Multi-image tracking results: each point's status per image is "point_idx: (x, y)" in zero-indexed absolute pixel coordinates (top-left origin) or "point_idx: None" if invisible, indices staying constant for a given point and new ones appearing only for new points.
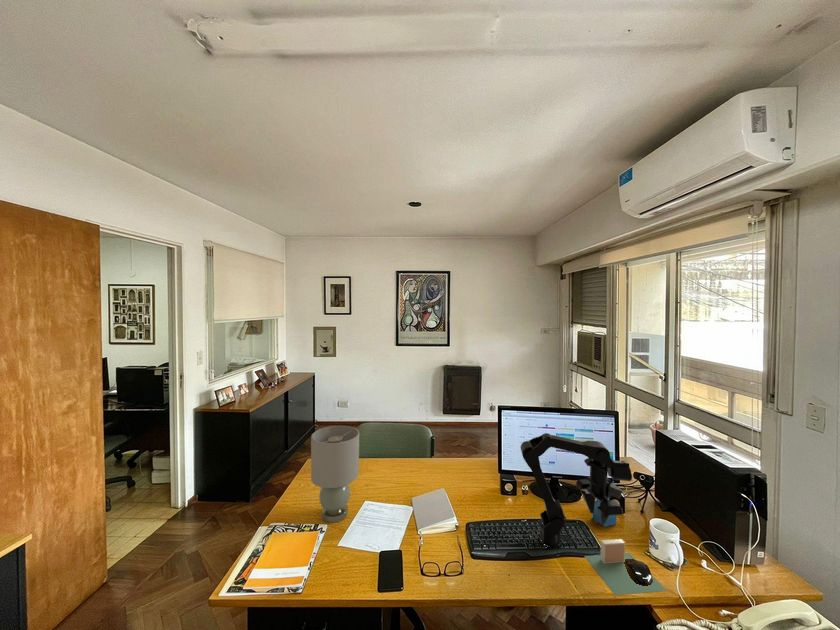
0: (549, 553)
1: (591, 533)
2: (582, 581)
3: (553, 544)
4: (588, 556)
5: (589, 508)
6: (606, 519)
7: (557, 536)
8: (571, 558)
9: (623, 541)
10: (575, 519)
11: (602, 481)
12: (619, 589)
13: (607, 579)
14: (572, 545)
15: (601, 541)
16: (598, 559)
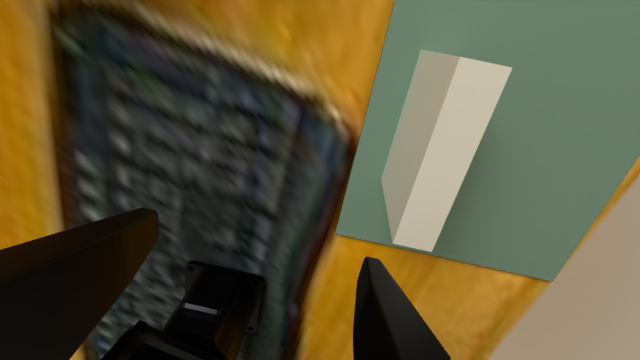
0: (278, 328)
1: (183, 40)
2: (433, 323)
3: (251, 315)
4: (344, 217)
5: (116, 298)
6: (417, 322)
7: (230, 315)
8: (324, 279)
9: (494, 70)
10: (45, 35)
11: None
12: (548, 245)
13: (483, 247)
14: (256, 221)
15: (399, 242)
16: (377, 188)
